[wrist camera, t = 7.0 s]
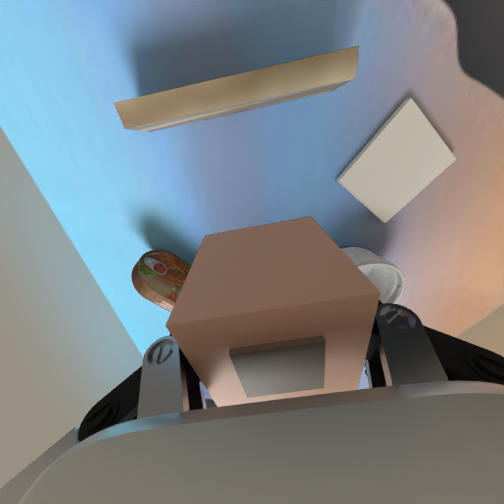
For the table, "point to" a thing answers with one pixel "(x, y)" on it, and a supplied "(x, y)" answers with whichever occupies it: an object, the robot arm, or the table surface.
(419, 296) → the table surface
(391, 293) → the ramekin
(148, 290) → the tin
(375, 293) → the marked cube
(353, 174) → the display tile
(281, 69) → the wooden plank
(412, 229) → the table surface
